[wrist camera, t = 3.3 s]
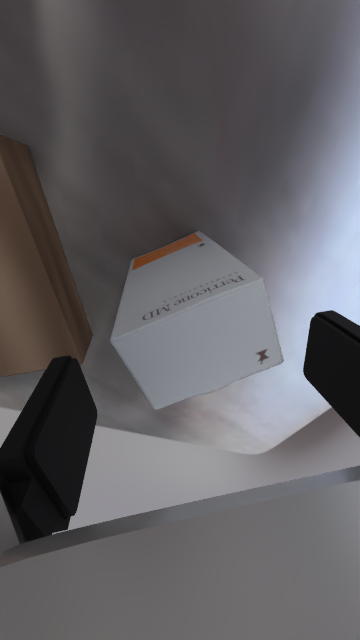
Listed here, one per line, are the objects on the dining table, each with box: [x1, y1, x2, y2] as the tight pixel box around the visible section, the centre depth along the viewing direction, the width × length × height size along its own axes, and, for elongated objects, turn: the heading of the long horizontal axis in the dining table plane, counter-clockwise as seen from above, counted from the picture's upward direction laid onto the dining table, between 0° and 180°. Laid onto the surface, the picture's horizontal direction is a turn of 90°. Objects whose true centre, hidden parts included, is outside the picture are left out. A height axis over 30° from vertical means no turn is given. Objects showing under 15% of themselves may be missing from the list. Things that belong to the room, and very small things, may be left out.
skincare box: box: [110, 231, 284, 410], centre depth 14 cm, size 6×4×12 cm
